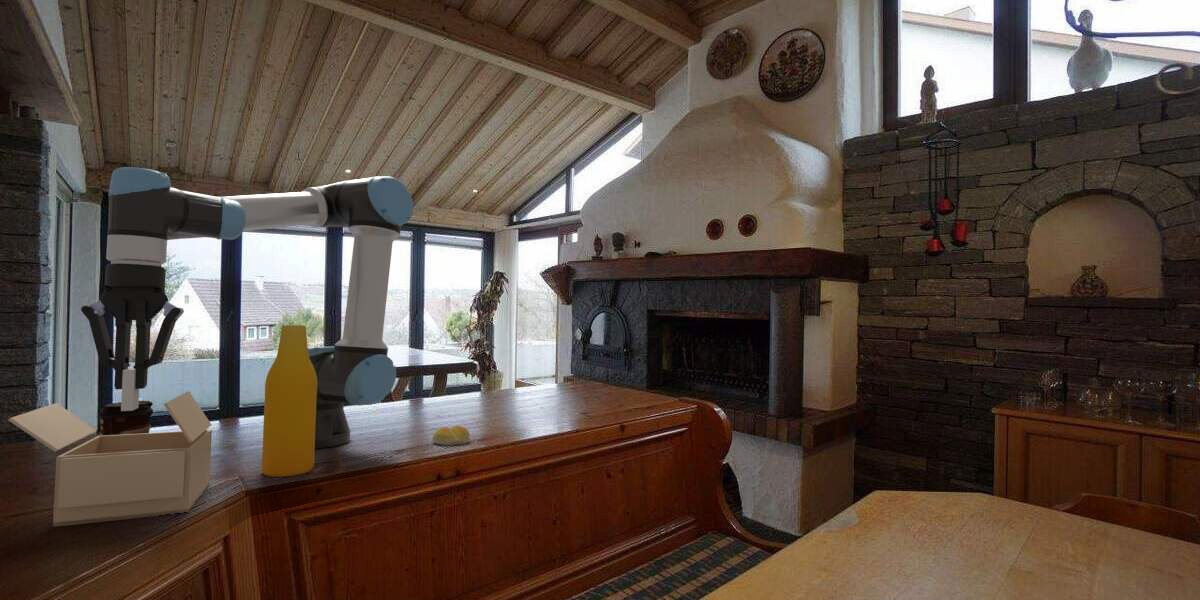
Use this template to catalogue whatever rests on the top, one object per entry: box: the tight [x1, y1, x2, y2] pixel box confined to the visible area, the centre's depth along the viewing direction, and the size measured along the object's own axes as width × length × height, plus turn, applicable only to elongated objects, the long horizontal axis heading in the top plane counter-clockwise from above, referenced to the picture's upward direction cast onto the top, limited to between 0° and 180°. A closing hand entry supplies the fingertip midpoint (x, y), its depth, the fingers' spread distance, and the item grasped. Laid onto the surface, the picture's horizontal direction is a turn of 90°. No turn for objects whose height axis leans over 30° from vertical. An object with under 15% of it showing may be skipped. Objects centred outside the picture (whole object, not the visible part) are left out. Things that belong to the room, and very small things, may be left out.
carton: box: [52, 429, 213, 528], centre depth 90 cm, size 16×16×10 cm
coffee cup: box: [97, 400, 154, 436], centre depth 109 cm, size 9×8×13 cm
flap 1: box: [8, 402, 97, 453], centre depth 85 cm, size 7×14×1 cm
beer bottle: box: [261, 324, 317, 478], centre depth 110 cm, size 9×9×29 cm
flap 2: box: [163, 390, 212, 442], centre depth 93 cm, size 7×14×1 cm
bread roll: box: [432, 425, 471, 446], centre depth 138 cm, size 8×9×4 cm
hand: (129, 409), depth 89 cm, fingers closed
